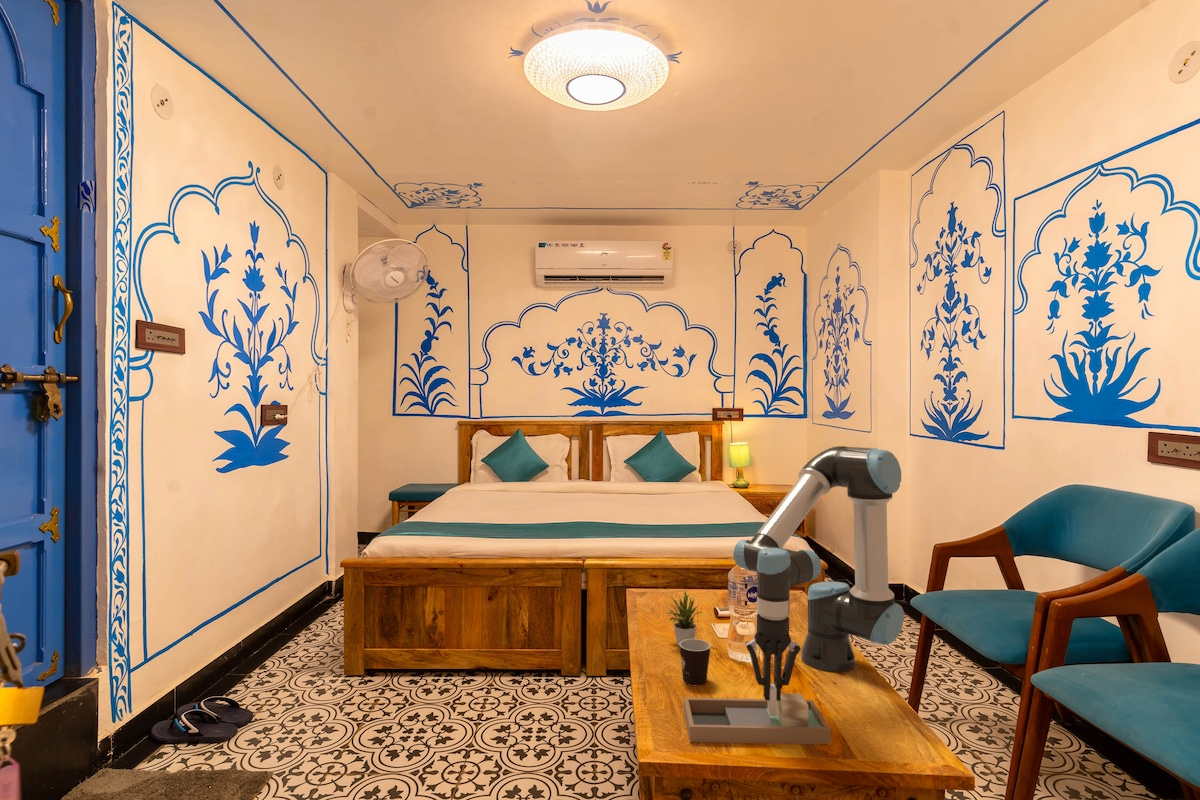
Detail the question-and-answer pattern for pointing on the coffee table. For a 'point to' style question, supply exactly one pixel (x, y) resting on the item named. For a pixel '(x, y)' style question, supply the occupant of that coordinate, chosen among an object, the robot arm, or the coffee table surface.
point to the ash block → (792, 710)
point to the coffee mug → (694, 660)
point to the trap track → (749, 723)
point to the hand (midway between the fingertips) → (771, 713)
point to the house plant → (684, 619)
